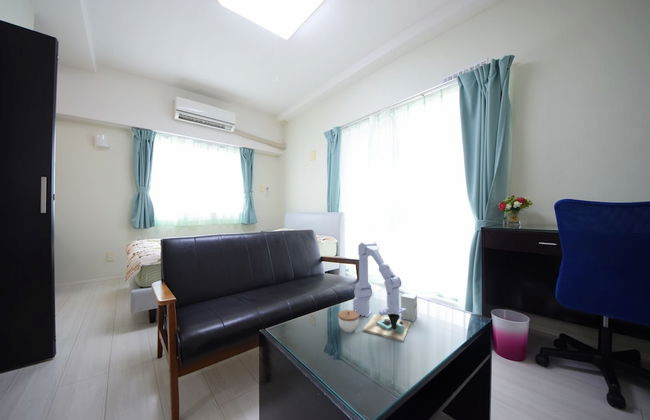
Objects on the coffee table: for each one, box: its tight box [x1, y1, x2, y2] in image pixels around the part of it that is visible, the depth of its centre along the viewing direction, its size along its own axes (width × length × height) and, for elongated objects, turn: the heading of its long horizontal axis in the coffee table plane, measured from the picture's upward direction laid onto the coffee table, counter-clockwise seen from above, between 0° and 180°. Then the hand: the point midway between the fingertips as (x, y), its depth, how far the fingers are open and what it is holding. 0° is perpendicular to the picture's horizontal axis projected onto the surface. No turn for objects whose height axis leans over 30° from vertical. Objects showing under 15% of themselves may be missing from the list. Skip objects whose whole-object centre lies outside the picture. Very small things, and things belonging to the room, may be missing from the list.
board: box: [362, 314, 412, 342], centre depth 118 cm, size 20×20×4 cm
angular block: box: [376, 318, 404, 333], centre depth 115 cm, size 14×8×3 cm, turn 33°
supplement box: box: [400, 292, 418, 322], centre depth 129 cm, size 7×7×13 cm
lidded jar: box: [337, 309, 360, 333], centre depth 116 cm, size 11×11×9 cm
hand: (393, 328), depth 112 cm, fingers closed
